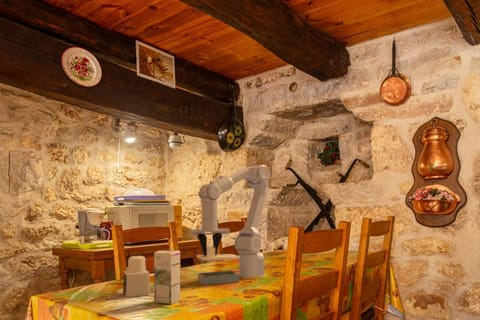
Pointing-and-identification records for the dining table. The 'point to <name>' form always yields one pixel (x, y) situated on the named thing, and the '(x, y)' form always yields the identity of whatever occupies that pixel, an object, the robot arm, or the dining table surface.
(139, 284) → the medicine bottle
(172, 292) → the syrup box
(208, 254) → the lid
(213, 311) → the dining table surface
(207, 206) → the robot arm
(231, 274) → the tub
